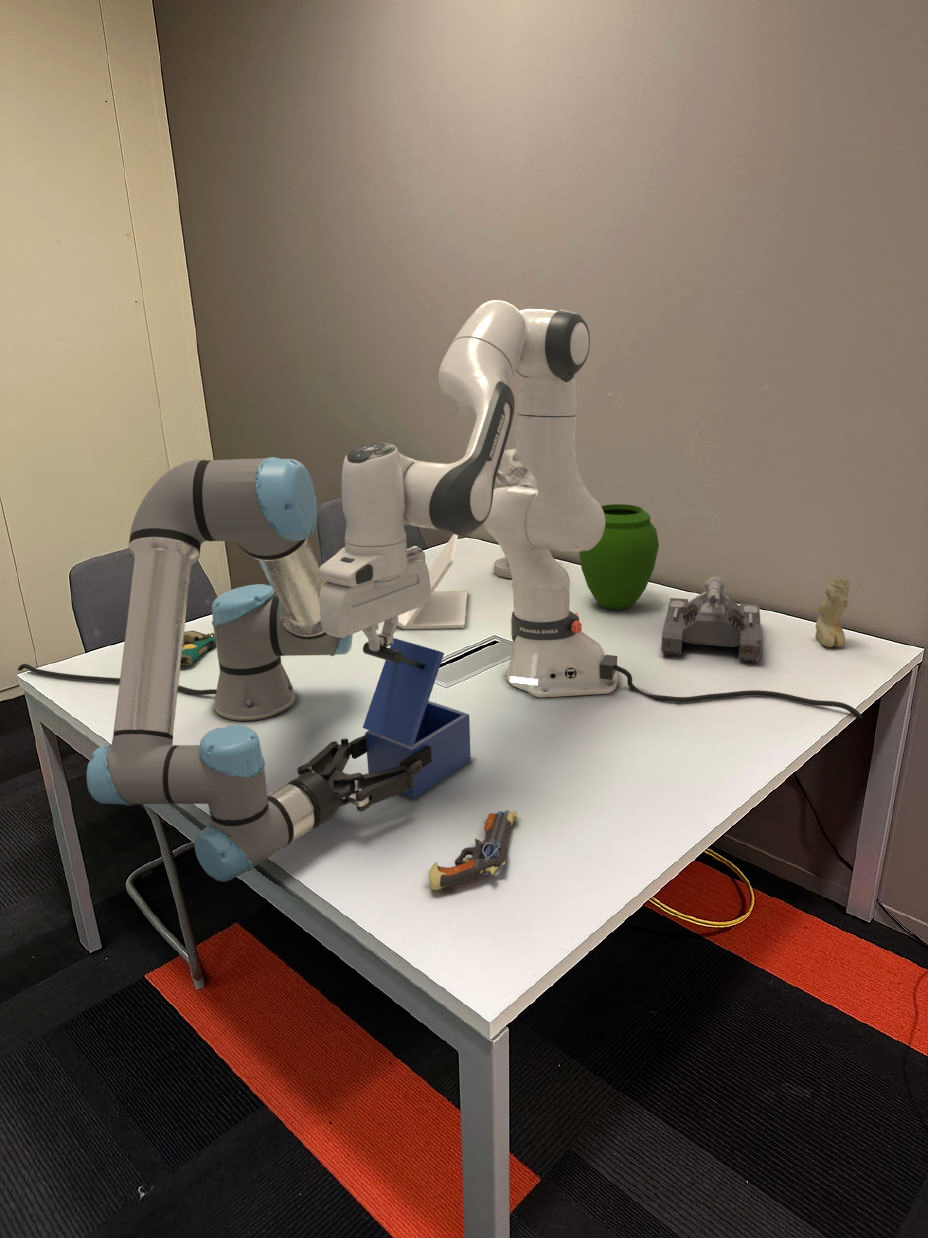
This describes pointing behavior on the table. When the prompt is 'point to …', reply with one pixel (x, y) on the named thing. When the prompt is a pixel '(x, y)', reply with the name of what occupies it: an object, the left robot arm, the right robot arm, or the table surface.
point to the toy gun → (478, 854)
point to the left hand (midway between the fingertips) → (404, 744)
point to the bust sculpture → (509, 476)
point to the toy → (713, 622)
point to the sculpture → (832, 613)
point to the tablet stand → (439, 599)
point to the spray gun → (195, 646)
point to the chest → (436, 730)
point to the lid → (402, 690)
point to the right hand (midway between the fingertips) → (381, 647)
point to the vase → (621, 557)
